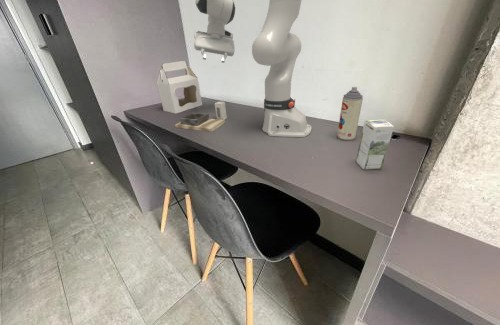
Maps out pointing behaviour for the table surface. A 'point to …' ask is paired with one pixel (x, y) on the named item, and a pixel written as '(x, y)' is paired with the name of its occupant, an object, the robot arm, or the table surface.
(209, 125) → the dock board
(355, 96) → the aerosol can
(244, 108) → the table surface
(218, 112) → the plug block
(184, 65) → the gable box
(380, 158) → the syrup box
